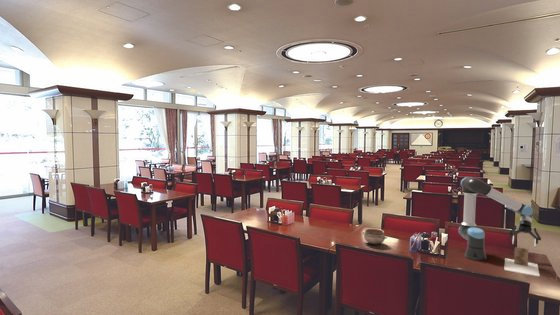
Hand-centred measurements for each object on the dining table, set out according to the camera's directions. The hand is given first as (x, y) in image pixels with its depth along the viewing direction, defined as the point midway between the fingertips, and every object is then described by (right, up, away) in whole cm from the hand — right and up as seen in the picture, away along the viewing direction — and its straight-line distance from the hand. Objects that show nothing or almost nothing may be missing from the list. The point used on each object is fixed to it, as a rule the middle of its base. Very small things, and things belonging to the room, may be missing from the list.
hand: (523, 245), depth 242 cm
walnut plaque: (-6, -13, -6) cm, 16 cm away
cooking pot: (-104, -12, +45) cm, 114 cm away
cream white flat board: (-10, -14, -10) cm, 20 cm away
